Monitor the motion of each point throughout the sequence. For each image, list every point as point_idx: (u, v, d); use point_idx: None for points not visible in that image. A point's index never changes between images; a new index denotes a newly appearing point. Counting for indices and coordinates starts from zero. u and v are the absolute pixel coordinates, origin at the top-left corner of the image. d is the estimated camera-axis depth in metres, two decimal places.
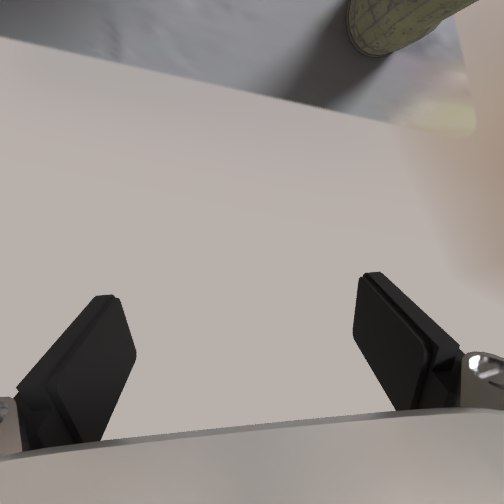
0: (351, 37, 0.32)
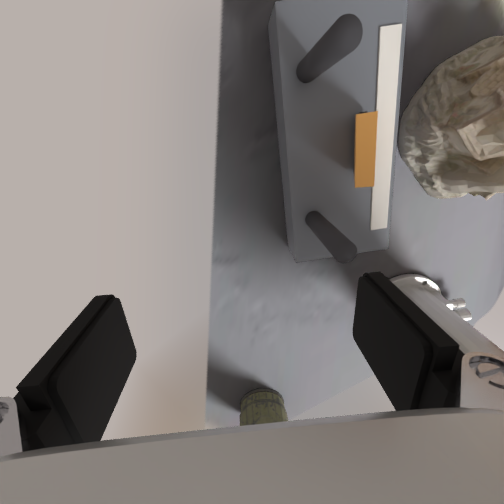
0: (247, 395, 0.50)
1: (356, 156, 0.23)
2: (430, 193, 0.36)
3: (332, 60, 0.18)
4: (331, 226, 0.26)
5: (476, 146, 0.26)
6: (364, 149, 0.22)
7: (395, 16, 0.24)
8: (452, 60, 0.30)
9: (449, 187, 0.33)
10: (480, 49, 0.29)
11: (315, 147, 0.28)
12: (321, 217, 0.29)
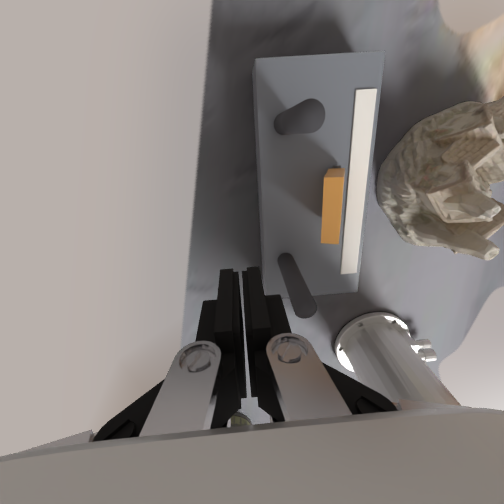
0: None
1: (323, 215, 0.24)
2: (405, 239, 0.37)
3: (299, 133, 0.19)
4: (297, 276, 0.26)
5: (443, 211, 0.27)
6: (330, 209, 0.23)
7: (371, 81, 0.25)
8: (429, 120, 0.31)
9: (421, 238, 0.34)
10: (456, 112, 0.31)
11: (289, 194, 0.29)
12: (291, 262, 0.29)
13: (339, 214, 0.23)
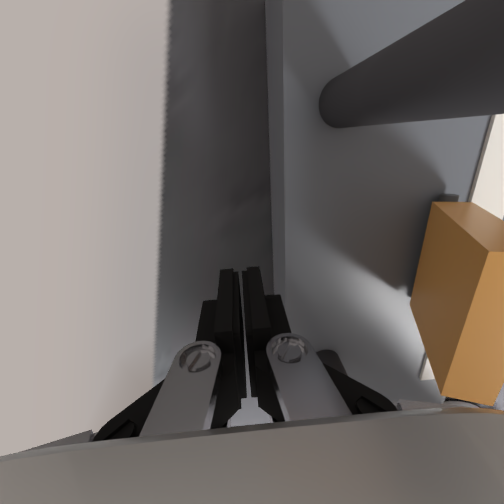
0: None
1: (461, 339, 0.09)
2: None
3: None
4: None
5: None
6: (489, 332, 0.08)
7: None
8: None
9: None
10: None
11: (341, 251, 0.14)
12: None
13: None
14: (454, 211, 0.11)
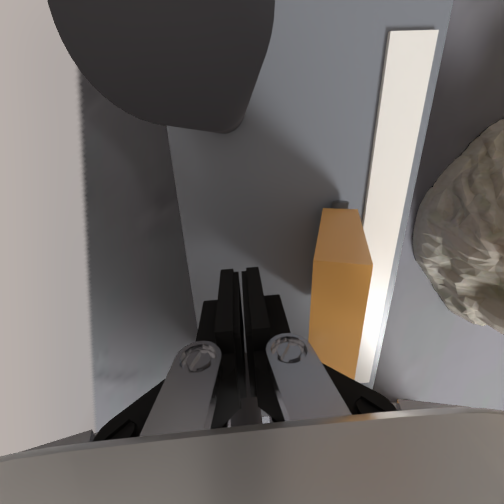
0: None
1: None
2: (454, 312, 0.23)
3: None
4: None
5: None
6: (330, 339, 0.09)
7: (425, 11, 0.11)
8: None
9: (490, 323, 0.20)
10: None
11: (243, 255, 0.14)
12: None
13: (354, 353, 0.08)
14: (330, 218, 0.11)
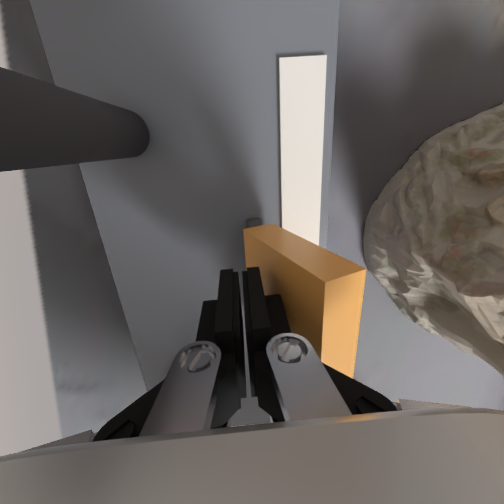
0: None
1: None
2: (412, 320, 0.23)
3: None
4: None
5: (496, 326, 0.13)
6: (338, 348, 0.09)
7: (312, 38, 0.11)
8: (455, 133, 0.17)
9: (440, 333, 0.20)
10: None
11: (168, 271, 0.15)
12: None
13: (354, 349, 0.09)
14: (267, 237, 0.11)
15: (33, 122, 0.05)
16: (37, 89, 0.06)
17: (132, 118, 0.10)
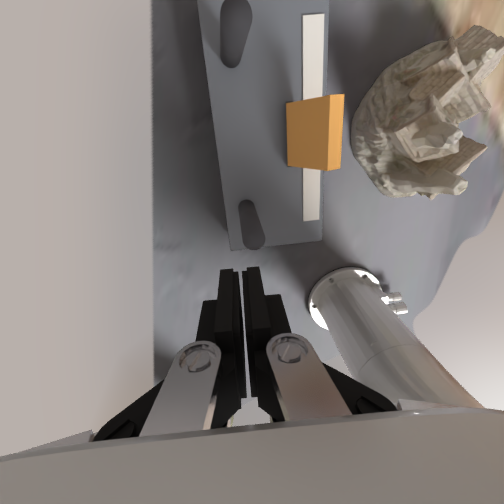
0: None
1: (328, 138, 0.23)
2: (383, 192, 0.37)
3: (231, 43, 0.18)
4: (251, 214, 0.26)
5: (412, 149, 0.27)
6: (334, 131, 0.23)
7: (317, 6, 0.24)
8: (398, 62, 0.30)
9: (396, 187, 0.34)
10: (425, 53, 0.30)
11: (243, 135, 0.28)
12: (248, 205, 0.29)
13: (341, 135, 0.23)
14: (300, 101, 0.25)
15: None
16: None
17: None
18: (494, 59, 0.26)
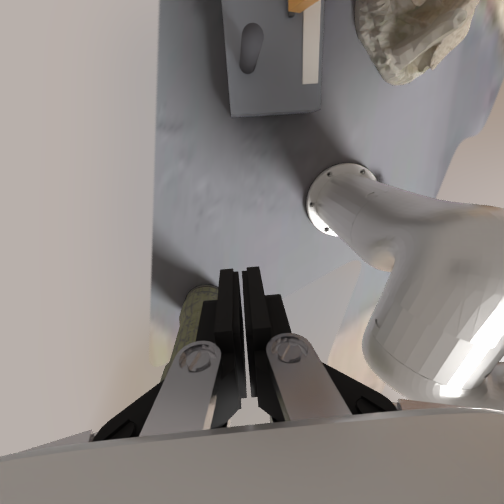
0: (192, 290, 0.51)
1: None
2: (385, 77, 0.38)
3: None
4: None
5: None
6: None
7: None
8: None
9: (399, 59, 0.35)
10: None
11: None
12: None
13: None
14: None
15: None
16: None
17: None
18: None
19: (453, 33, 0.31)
